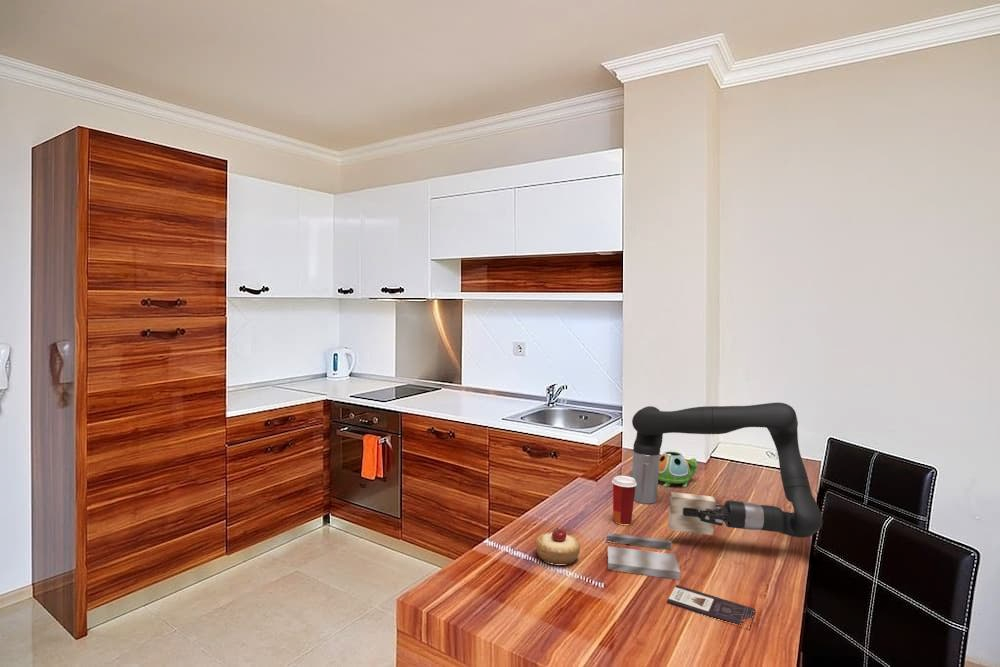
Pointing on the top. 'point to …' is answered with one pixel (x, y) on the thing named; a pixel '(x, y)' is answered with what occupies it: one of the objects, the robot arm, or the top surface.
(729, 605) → the chocolate bar
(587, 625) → the top surface
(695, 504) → the beige rectangular block
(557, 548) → the pastry
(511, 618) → the top surface
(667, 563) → the mating board
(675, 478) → the turtle holder
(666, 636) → the top surface
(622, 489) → the paper cup
